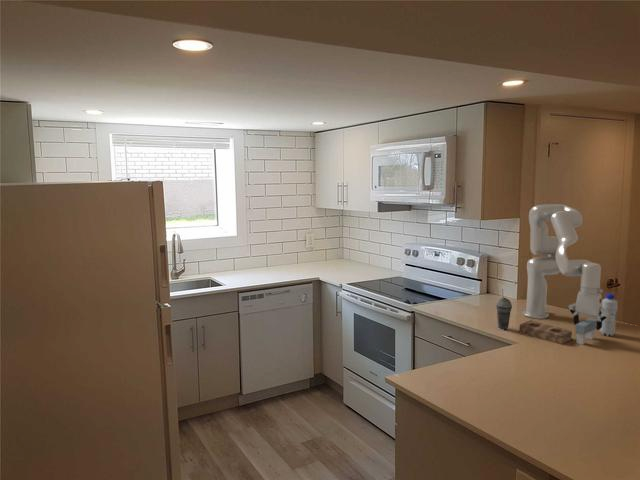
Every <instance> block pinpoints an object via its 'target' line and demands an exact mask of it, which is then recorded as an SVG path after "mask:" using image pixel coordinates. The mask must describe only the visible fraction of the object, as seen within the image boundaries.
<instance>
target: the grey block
mask: <svg viewBox="0 0 640 480" xmlns="http://www.w3.org/2000/svg"><path fill="white" fill-rule="evenodd" d="M597 321H598V320H597V318H593V317H588V318H586V319H584V320H582V321H580V322H579V323H578V324H576V325H575V334H576V344H578V345H581V346H583V345H585V343H586V339H587V340H593V339H594V340H595V332H596V330H597V329H596V326H597Z"/></svg>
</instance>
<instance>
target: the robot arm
mask: <svg viewBox="0 0 640 480" xmlns="http://www.w3.org/2000/svg"><path fill="white" fill-rule="evenodd" d="M528 213H529V214H528V222H529V228H530V233H529V234H530V236H529V237H530V238H529V239H530V240H529V243H530V246H529V247H530V249H529V250H530V252H531V254H533V255H538V256H537V257H536V256H535V257H532V258H530V259H528V260H527V263H526V271H527V289H526V306H525V307H526V308H525V310H522V315H523V316H525V317H527V318H530V319H531V318H532V319H540V320H542V319H548V318H549V315H550V314H549V313H548V312H546V310H548V309H549V305H547V297H548V294H547V293H548V282H547V279H546V278H545V276H552V275H557V274H560V273H561V275H563V276H564V277H580V287H579V288H580V289H579V291H578V293H577V296H576V299H575V300H576V301H575V302H574V303H572V304H569V305H568V309H569V312H570V313H571V314H572V317H573V325H575V326H576V324H578V323H580V322H579V319H580V316H579V314H582V315H586V316H591V317H595V319H597V326H596V329H595V330H597V331H600V329H601V328H602V321H603V320H605V319H606V318H607V317H608V316H609V314H610V313H609V312H607V311H606V310H605V309H603V308H602V301H603V298H602V297H603V296H602V293H603V291H604V290H603V289H601V286H600V285H601V275H602V274H601V273H602V267H601V264H599V263H596V262H592V261H590V260H588V259H569V258H568V255H567V249H568V247H569V246H571V245H574V244H575V243H576V242H578V239H579V236H578V234H577V231H576V229H575V228H578V227H579V228H580V227H581V225H582V224H583V216H582V214H581V212H580V211H578V210H577V209H575V208H573V207H570V206H569V205H566V204H562V203H561V204H560V203H559V204H558V203H556V204H551V203H549V204H546V203H545V204H538V205H534V206H532V207H531V208H530V210H529V212H528ZM546 222H551V225H552V229H553V231H554V233H555V236H553V235H552V236H551V235H550V236H549V227H548V225H547V223H546ZM539 255H540V257H539ZM543 255H545V256H543ZM547 255H548V256H547ZM574 307H575V308H574ZM602 312H603V313H604V314H605V315H604V316H603V317H602V316H601V314H602Z"/></svg>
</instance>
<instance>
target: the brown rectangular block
mask: <svg viewBox="0 0 640 480" xmlns="http://www.w3.org/2000/svg"><path fill="white" fill-rule="evenodd" d="M518 331H519V332H521V333H520V334H523V333H524V334H523V335H526V334H527V336H530V337H533V338H537V339H540V340H541V339H542V340H544V341H547V342H552V343H554V344H559V345H563V344H565V343H567V342H568V341H570V340H572V336H573V331H572V330H569V329H566V328H562V327H559V326H554V325H550V324H546V323H543V322H539V321H535V320H527V321H525V322H522V323H520V324H519V329H518ZM519 332H518V333H519Z"/></svg>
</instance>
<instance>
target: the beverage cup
mask: <svg viewBox="0 0 640 480" xmlns="http://www.w3.org/2000/svg"><path fill="white" fill-rule="evenodd" d="M501 294H502V295H501V296H502V297H501V298H499V299H498V300H497V303H496V305H495V306H496V314H497V329H498V328H500V329H508V330H509V326H510V325H509V324H510V318H511V311H512V308H513V307H512V306H513V305H512V302H511V300H510V299H508V298H507V297H505V296H504V288H502V289H501ZM500 329H499V330H500Z"/></svg>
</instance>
